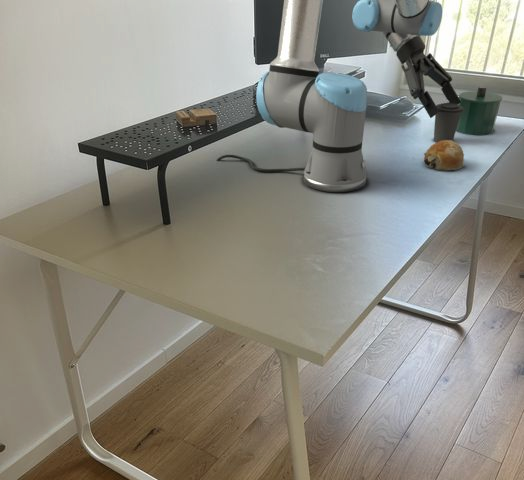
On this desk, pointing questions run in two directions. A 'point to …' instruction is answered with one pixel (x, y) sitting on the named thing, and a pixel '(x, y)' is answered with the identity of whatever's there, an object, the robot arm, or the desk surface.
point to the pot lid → (480, 96)
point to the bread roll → (444, 156)
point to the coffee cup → (446, 121)
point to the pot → (477, 117)
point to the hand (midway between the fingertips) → (446, 110)
